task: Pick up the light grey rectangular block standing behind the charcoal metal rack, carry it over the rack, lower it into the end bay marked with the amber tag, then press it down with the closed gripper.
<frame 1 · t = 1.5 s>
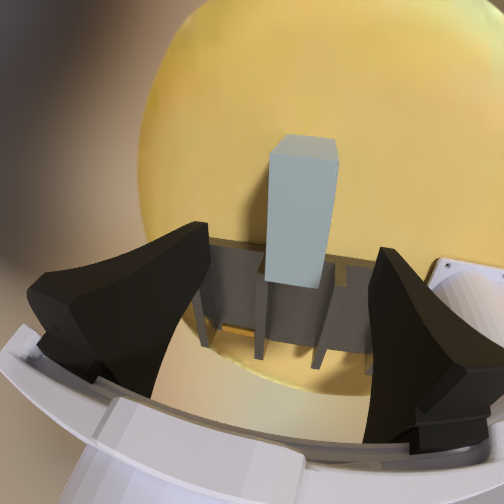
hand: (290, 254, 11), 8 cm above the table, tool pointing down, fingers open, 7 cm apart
rack: (299, 299, 23), on the table
light grey rectangular block: (306, 186, 18), on the table
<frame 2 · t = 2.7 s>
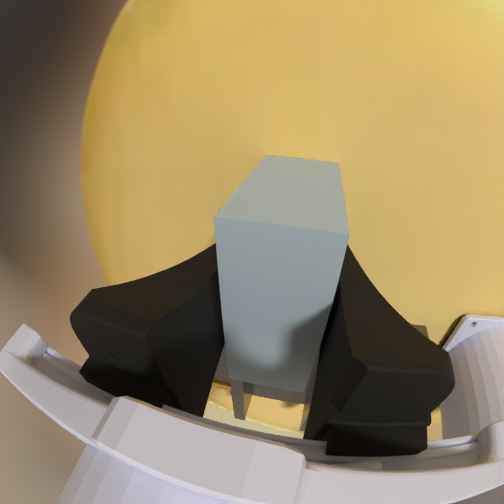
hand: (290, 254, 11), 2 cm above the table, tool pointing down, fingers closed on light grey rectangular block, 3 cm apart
rack: (286, 358, 18), on the table
light grey rectangular block: (295, 231, 13), on the table, touching gripper
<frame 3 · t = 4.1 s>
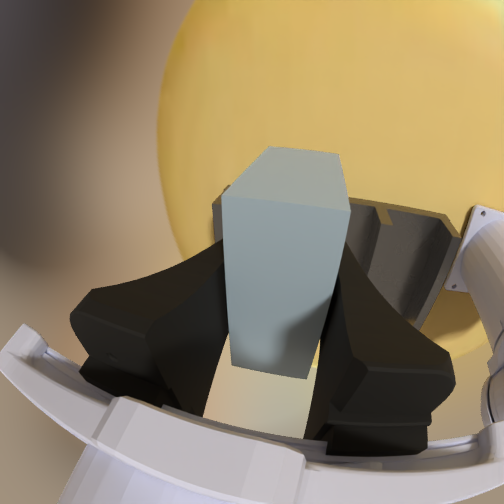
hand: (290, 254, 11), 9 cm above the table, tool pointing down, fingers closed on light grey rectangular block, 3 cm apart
rack: (333, 256, 21), on the table
light grey rectangular block: (297, 221, 13), point 7 cm above the table, touching gripper
when the fingers open (4 cm above the table, at t = 5.6 s): light grey rectangular block stays where it is, resting on rack.
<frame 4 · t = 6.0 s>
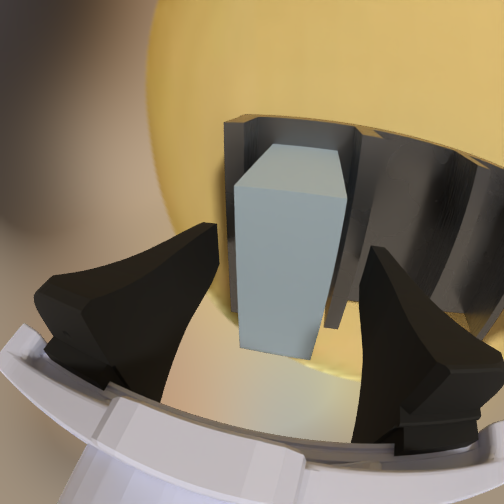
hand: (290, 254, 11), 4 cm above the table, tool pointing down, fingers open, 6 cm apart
rack: (392, 224, 14), on the table
light grey rectangular block: (299, 214, 14), point 1 cm above the table, touching rack
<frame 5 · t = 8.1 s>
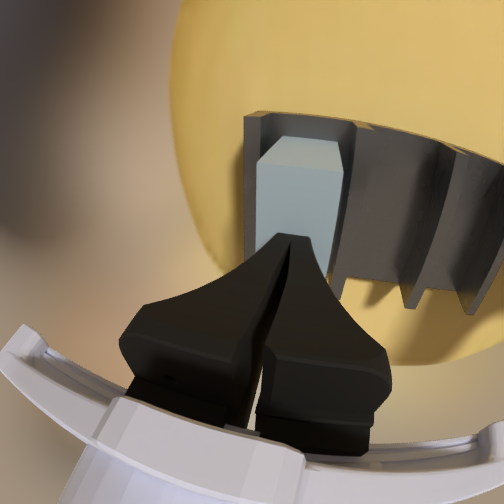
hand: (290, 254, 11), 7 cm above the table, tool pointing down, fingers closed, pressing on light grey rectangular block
rack: (386, 206, 16), on the table
light grey rectangular block: (305, 196, 16), point 1 cm above the table, touching gripper, rack
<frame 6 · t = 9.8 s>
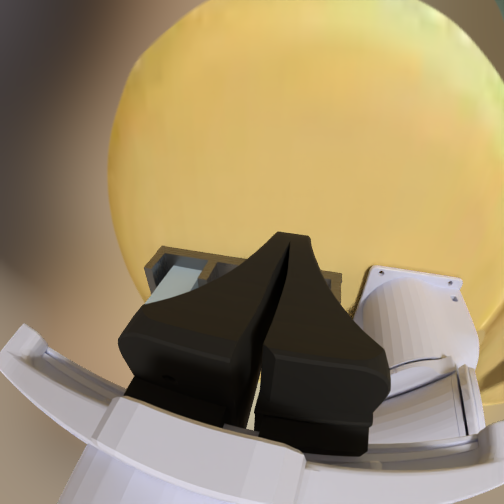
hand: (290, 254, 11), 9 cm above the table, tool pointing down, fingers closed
rack: (245, 300, 27), on the table
light grey rectangular block: (192, 296, 27), point 1 cm above the table, touching rack
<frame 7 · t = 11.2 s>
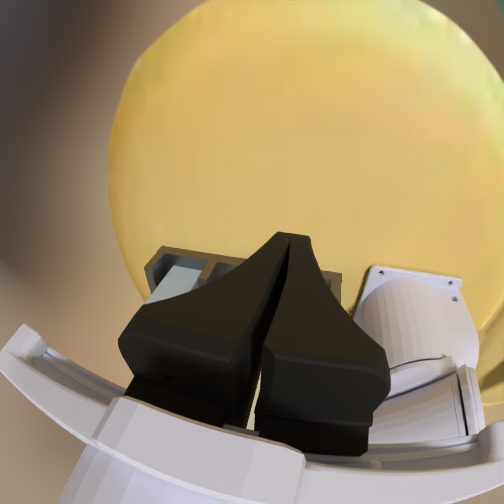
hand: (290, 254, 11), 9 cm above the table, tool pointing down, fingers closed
rack: (245, 300, 27), on the table
light grey rectangular block: (192, 296, 27), point 1 cm above the table, touching rack
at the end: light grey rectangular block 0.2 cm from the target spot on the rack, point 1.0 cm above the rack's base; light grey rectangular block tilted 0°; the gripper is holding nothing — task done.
